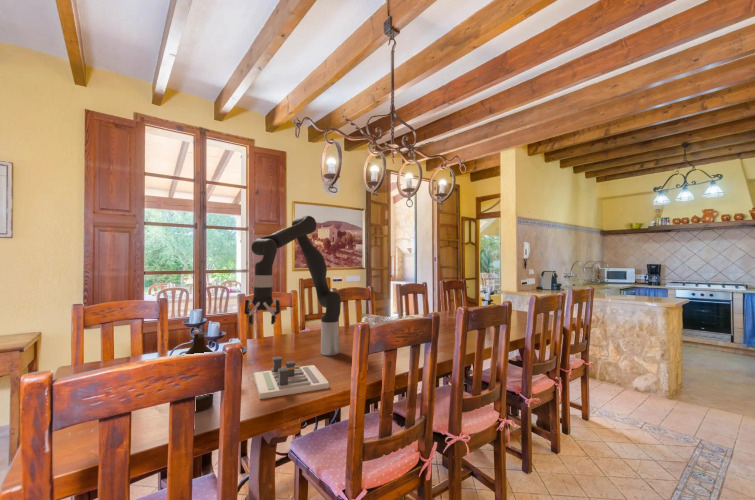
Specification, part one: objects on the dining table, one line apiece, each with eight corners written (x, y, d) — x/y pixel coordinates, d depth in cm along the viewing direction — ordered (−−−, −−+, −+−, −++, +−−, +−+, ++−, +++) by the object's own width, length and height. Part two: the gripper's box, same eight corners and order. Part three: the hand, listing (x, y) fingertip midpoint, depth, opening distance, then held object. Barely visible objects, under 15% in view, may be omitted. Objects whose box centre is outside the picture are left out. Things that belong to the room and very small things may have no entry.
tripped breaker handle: (293, 374, 141) (293, 360, 141) (295, 377, 138) (295, 362, 138) (284, 375, 139) (284, 361, 140) (286, 378, 136) (286, 363, 136)
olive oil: (178, 404, 117) (180, 332, 118) (212, 397, 123) (213, 328, 124) (180, 416, 108) (182, 338, 109) (216, 408, 114) (218, 334, 115)
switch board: (313, 369, 155) (314, 351, 155) (328, 388, 133) (329, 366, 133) (253, 377, 144) (254, 357, 144) (259, 399, 122) (259, 376, 122)
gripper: (282, 285, 148) (281, 322, 147) (248, 285, 146) (247, 322, 146) (278, 286, 140) (277, 325, 140) (243, 286, 139) (242, 326, 138)
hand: (262, 324), depth 143 cm, fingers open, 8 cm apart
